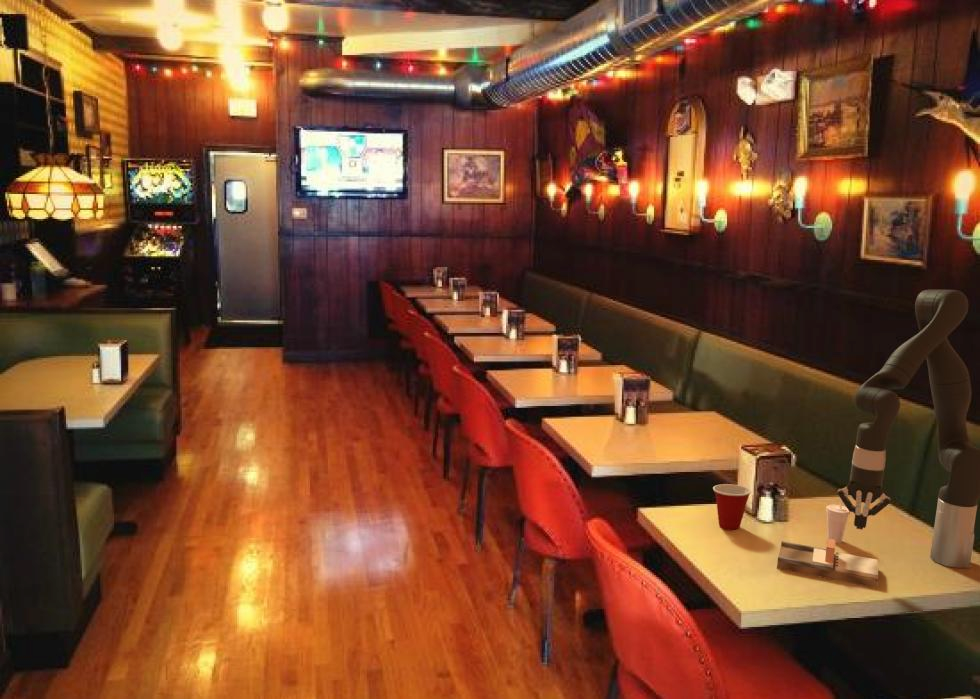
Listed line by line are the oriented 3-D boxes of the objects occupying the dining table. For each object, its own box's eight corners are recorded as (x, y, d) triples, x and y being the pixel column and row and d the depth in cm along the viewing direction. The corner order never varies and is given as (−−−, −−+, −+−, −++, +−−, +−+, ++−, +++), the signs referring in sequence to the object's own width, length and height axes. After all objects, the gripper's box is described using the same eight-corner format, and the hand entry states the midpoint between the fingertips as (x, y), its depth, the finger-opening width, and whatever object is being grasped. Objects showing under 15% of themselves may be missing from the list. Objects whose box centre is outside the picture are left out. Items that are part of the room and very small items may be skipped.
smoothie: (843, 547, 232) (848, 499, 230) (819, 540, 236) (824, 494, 233) (849, 539, 237) (854, 493, 235) (826, 533, 241) (831, 488, 238)
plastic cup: (731, 517, 251) (735, 479, 249) (755, 531, 241) (759, 492, 239) (702, 521, 247) (705, 483, 245) (725, 535, 237) (728, 496, 235)
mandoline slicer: (875, 568, 219) (877, 557, 218) (876, 587, 208) (878, 576, 208) (780, 550, 228) (781, 540, 228) (776, 568, 217) (777, 557, 217)
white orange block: (833, 555, 221) (835, 537, 220) (832, 568, 213) (834, 550, 212) (813, 551, 223) (815, 534, 222) (812, 564, 215) (814, 546, 214)
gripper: (896, 464, 211) (887, 528, 214) (840, 455, 216) (832, 518, 219) (897, 473, 204) (887, 538, 207) (839, 463, 209) (831, 528, 213)
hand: (859, 528), depth 213 cm, fingers closed
